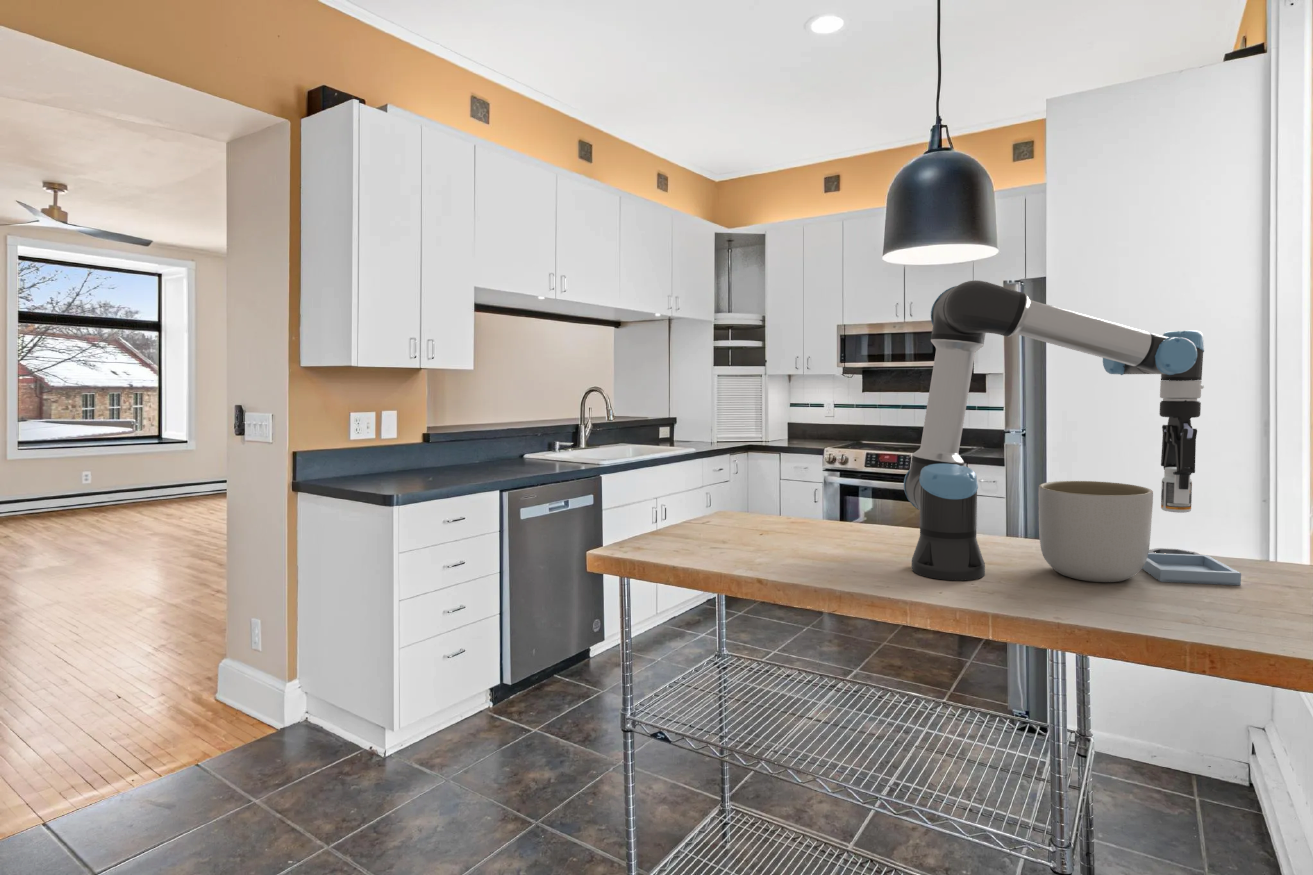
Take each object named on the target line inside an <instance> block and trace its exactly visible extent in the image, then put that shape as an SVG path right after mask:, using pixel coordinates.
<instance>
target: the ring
mask: <svg viewBox="0 0 1313 875" xmlns="http://www.w3.org/2000/svg"><path fill="white" fill-rule="evenodd" d="M1155 552H1156V553H1166V554H1191V555H1201V554H1200V553H1198V552H1195V551H1190V550H1185V549H1181V548H1180V549H1179V548H1163V547H1158V548H1151V549H1149V552H1148V553H1155Z"/></svg>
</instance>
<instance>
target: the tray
mask: <svg viewBox="0 0 1313 875" xmlns="http://www.w3.org/2000/svg"><path fill="white" fill-rule="evenodd" d="M1143 569H1144V570H1143ZM1141 570H1143V571H1145V572H1146V573H1147V572H1148V573H1147V574H1149V575H1150V574H1151V575H1150V576H1152V577H1153V578H1154V579H1156V580H1157V579H1158V580H1157V581H1159V582H1162V583H1181V584H1182V583H1184V584H1202V585H1204V584H1205V585H1225V586H1242V585H1241V584H1242V573H1241V572H1239V571H1238V570H1236V569H1234V568H1232V567H1231V566H1228V565H1227V564H1225V563H1223V562H1221V561H1220V560H1217V559H1215V558H1213V557H1211V556H1210V555H1208V554H1200V555H1191V554H1164V553H1148V557H1147V560H1146V563H1145V565H1144V567H1143V568H1142V569H1141Z"/></svg>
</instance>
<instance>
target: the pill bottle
mask: <svg viewBox="0 0 1313 875" xmlns="http://www.w3.org/2000/svg"><path fill="white" fill-rule="evenodd" d="M1164 472H1165V474H1166V476H1165V477H1164V476H1163V478H1162V479H1161V494H1160V495H1161V496H1160V509H1161V510H1162V511H1163V512H1168V513H1169V512H1170V513H1176V514H1177V513H1180V514H1182V513H1190V512H1191V511H1192V497H1193V496H1192V494H1193V493H1192V492H1193V481H1192V479H1191V478H1190V491H1189V504H1178V503H1174V481H1175V475H1174V474H1173V472H1177V467H1165V470H1164Z"/></svg>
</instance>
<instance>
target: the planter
mask: <svg viewBox="0 0 1313 875" xmlns="http://www.w3.org/2000/svg"><path fill="white" fill-rule="evenodd" d="M1153 505H1154V491H1153V490H1152V489H1151V488H1148V487H1145V486H1141V485H1134V484H1129V483H1128V484H1127V483H1122V482H1121V483H1120V482H1111V481H1110V482H1108V481H1096V480H1093V481H1092V480H1059V481H1048V482H1043V483H1041V484H1039V485H1038V533H1039V544H1040V546H1039V547H1040V550H1041V554H1042V557H1043V558H1044V560H1045V561H1046V562H1047V564H1048V565H1049V566H1050V567H1051V568H1052V569H1053V570H1054V571H1056V572H1057V573H1058V574H1060V575H1062V576H1064V577H1067V578H1072V579H1075V580H1080V581H1086V582H1091V583H1092V582H1094V583H1118V582H1123V581H1126V580H1128V579H1131V578H1133V577H1134V576H1136V575H1137V574H1138V573H1139V572H1140V571H1142V570H1143V569H1142V568H1143V567H1144V565H1145V563H1146V560H1147V557H1148V552H1149V550H1150V547H1151V546H1150V544H1151V534H1152V520H1153V519H1152V518H1153Z"/></svg>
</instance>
